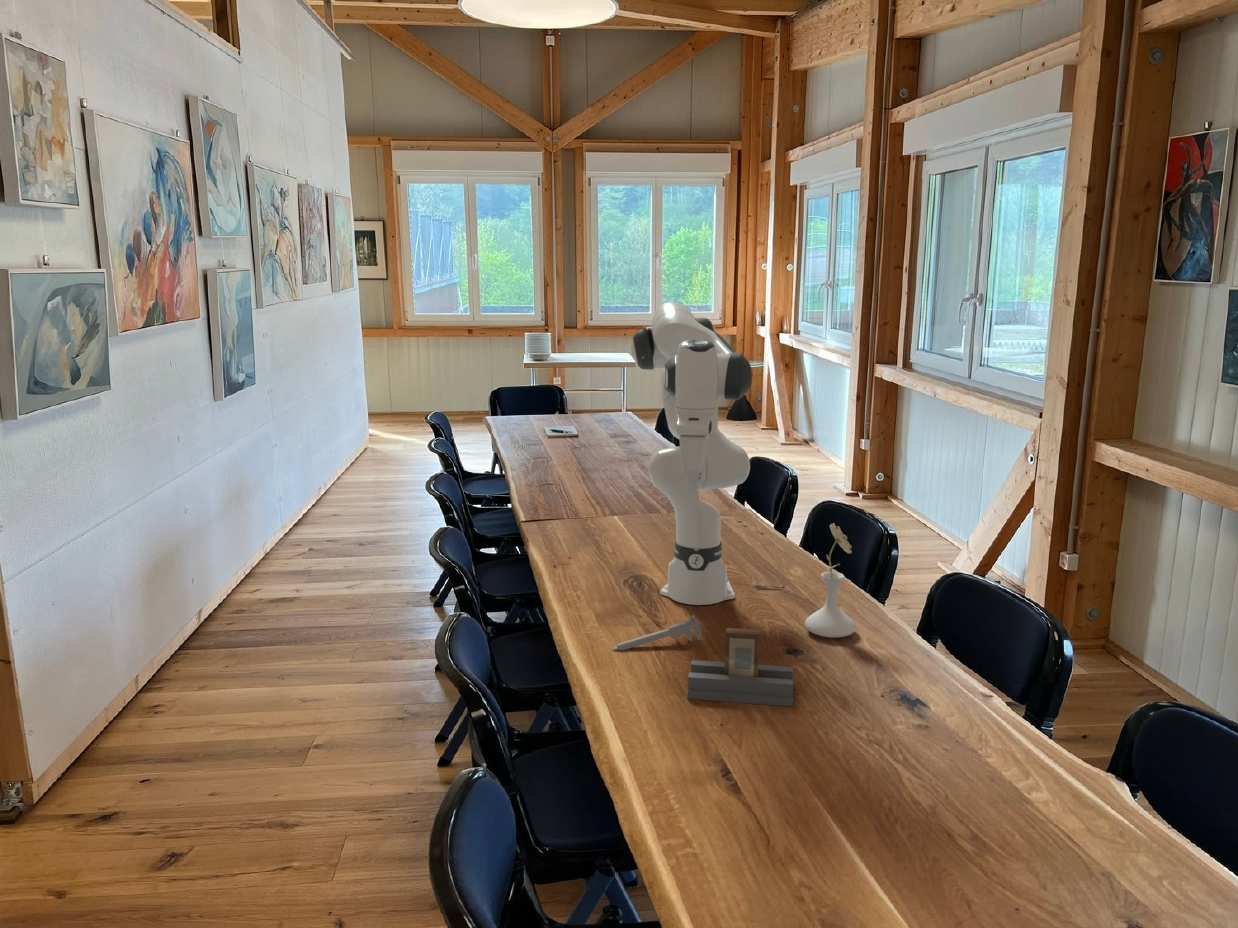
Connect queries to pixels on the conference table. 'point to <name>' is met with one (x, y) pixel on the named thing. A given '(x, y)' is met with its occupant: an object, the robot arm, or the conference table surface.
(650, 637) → the caliper
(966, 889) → the conference table surface
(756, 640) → the wooden picture frame
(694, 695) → the picture ledge
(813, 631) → the flower in vase
